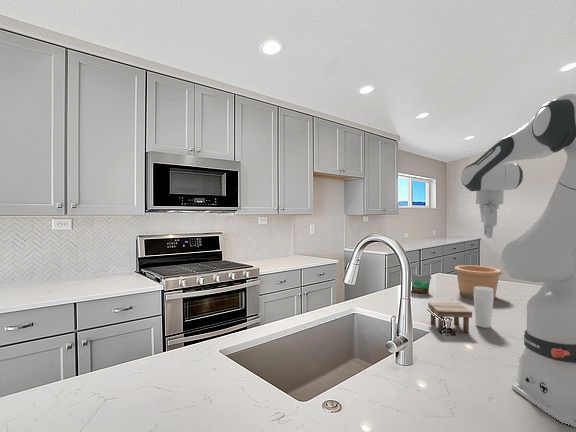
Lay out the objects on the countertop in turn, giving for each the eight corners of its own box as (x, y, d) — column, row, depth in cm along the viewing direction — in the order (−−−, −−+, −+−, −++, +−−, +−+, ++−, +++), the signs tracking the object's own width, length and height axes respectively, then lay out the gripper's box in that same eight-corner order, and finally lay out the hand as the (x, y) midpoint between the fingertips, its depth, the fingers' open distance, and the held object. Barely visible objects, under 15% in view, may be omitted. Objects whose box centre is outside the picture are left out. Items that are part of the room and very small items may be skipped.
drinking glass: (496, 329, 128) (496, 290, 127) (476, 328, 129) (477, 289, 129) (489, 323, 134) (489, 286, 134) (470, 322, 136) (471, 285, 135)
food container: (408, 293, 182) (408, 275, 182) (407, 290, 188) (407, 273, 188) (432, 295, 179) (432, 276, 178) (431, 292, 184) (431, 274, 184)
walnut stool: (471, 333, 123) (472, 312, 123) (438, 332, 125) (438, 311, 125) (458, 322, 135) (458, 303, 135) (428, 321, 137) (428, 302, 136)
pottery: (447, 295, 179) (447, 268, 179) (463, 288, 194) (463, 263, 193) (493, 303, 163) (493, 274, 162) (506, 295, 178) (506, 268, 177)
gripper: (502, 199, 114) (501, 239, 115) (496, 199, 133) (495, 234, 133) (481, 199, 117) (480, 238, 118) (478, 199, 136) (477, 233, 136)
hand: (488, 236), depth 126 cm, fingers open, 8 cm apart
